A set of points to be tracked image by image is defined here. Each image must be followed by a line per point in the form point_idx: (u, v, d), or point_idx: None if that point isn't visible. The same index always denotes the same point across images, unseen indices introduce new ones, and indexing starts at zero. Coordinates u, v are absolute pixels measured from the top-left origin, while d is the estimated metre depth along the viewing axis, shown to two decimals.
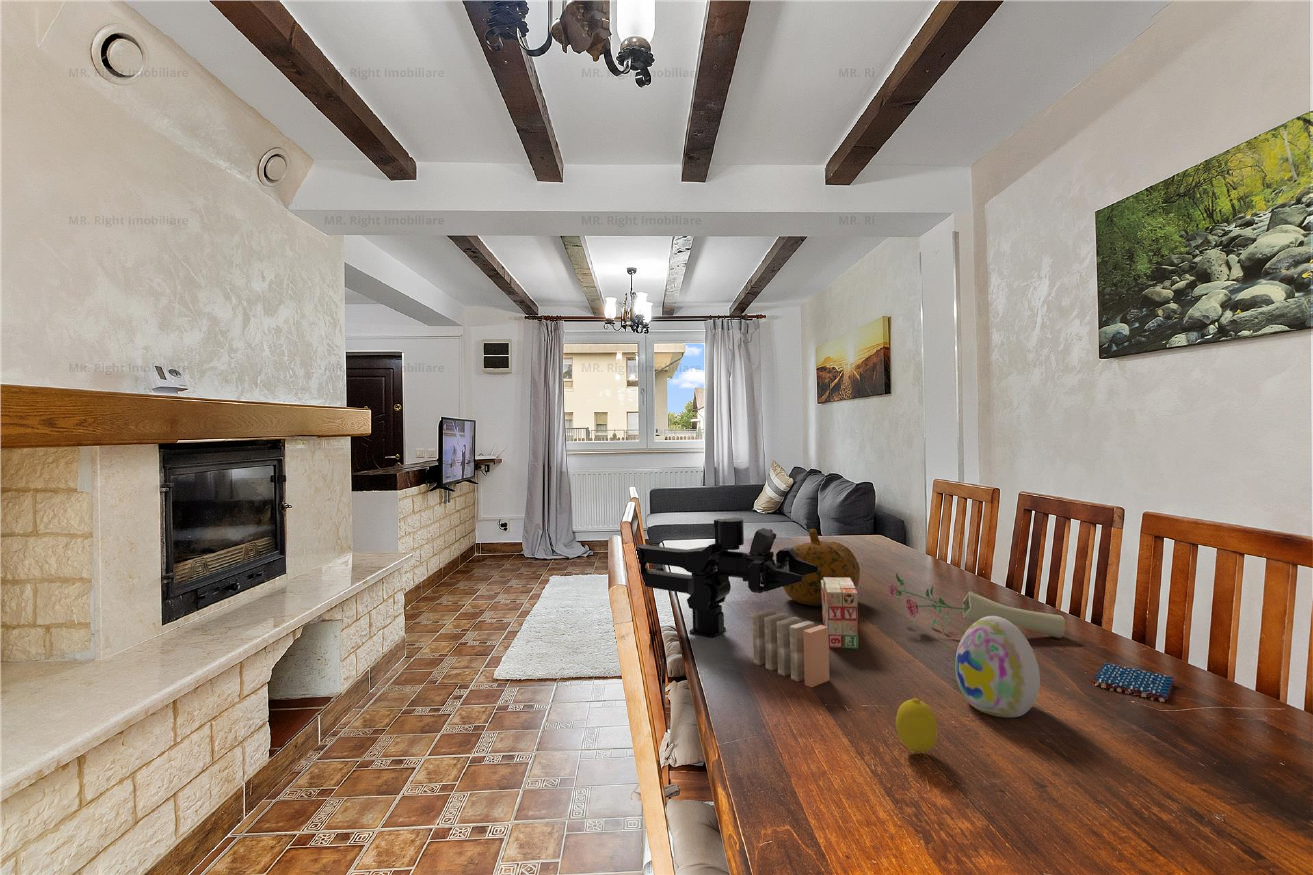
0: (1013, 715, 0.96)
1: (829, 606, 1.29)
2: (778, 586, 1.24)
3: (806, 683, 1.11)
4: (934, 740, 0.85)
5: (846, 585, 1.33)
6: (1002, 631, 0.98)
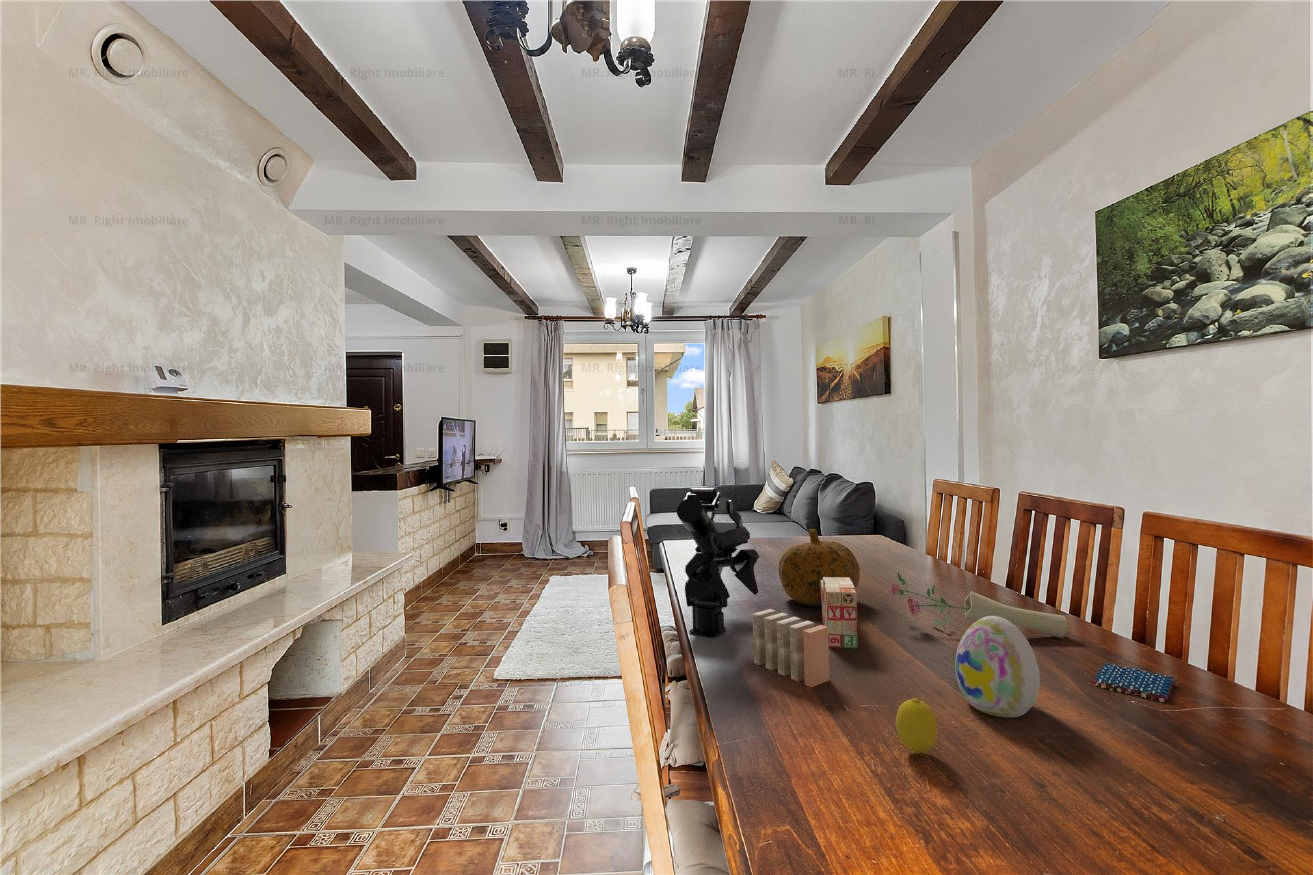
0: (1013, 715, 0.96)
1: (828, 606, 1.29)
2: (707, 585, 1.27)
3: (806, 683, 1.11)
4: (934, 740, 0.85)
5: (845, 585, 1.33)
6: (1002, 630, 0.98)
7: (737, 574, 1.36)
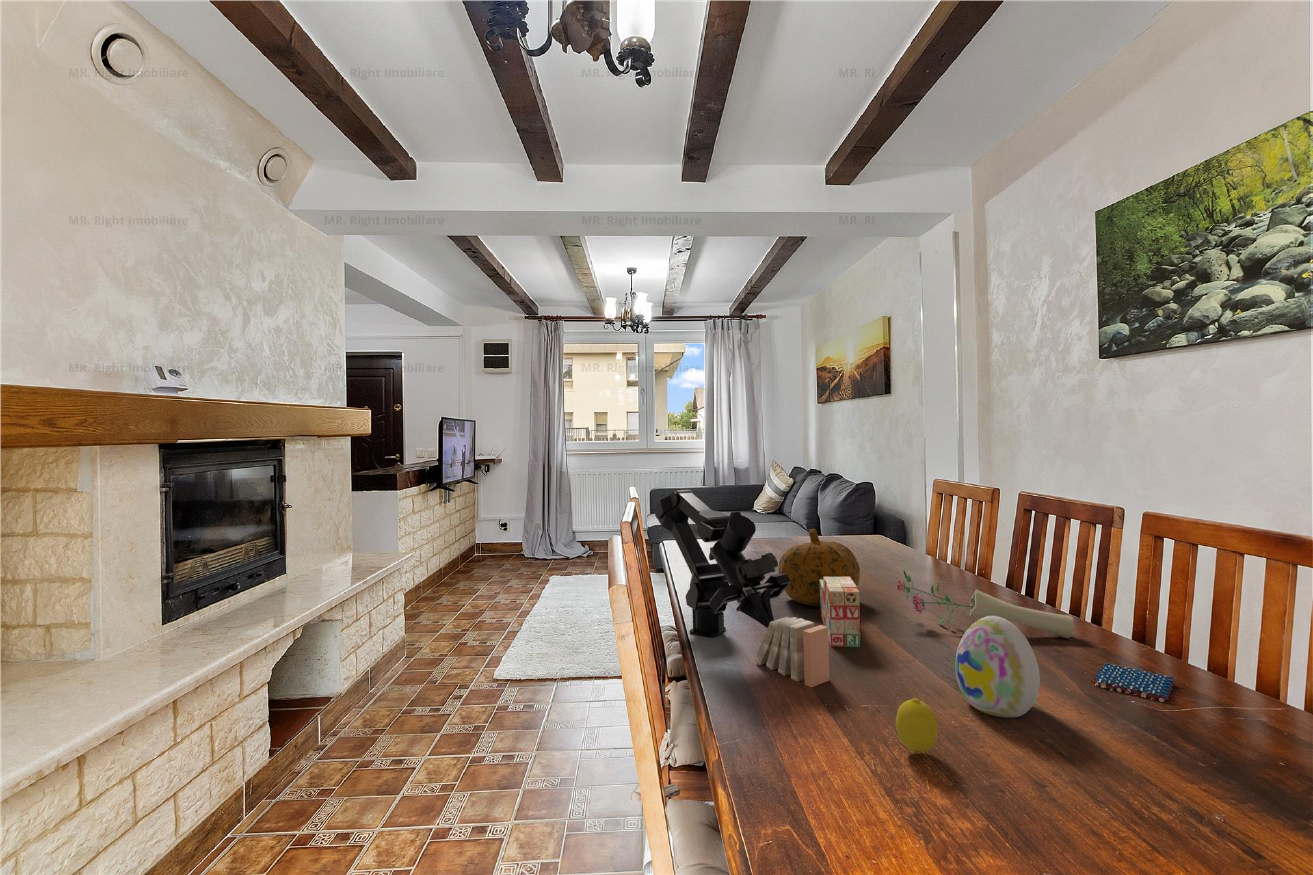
0: (1013, 715, 0.96)
1: (831, 605, 1.30)
2: (750, 615, 1.23)
3: (806, 683, 1.11)
4: (934, 740, 0.85)
5: (847, 584, 1.34)
6: (1002, 631, 0.98)
7: None
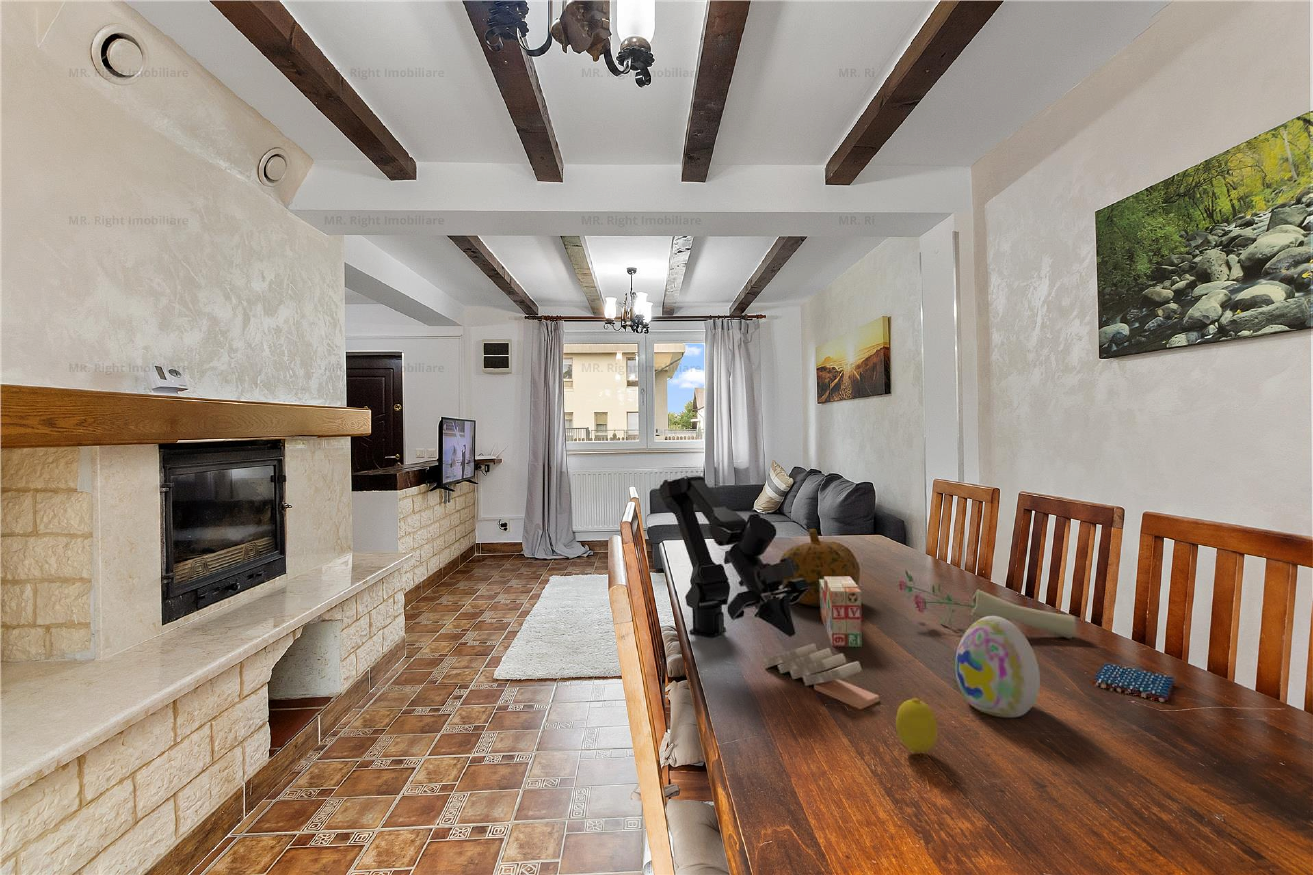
0: (1013, 715, 0.96)
1: (833, 605, 1.30)
2: (769, 622, 1.19)
3: (815, 686, 1.09)
4: (934, 740, 0.85)
5: (848, 584, 1.34)
6: (1002, 631, 0.98)
7: None
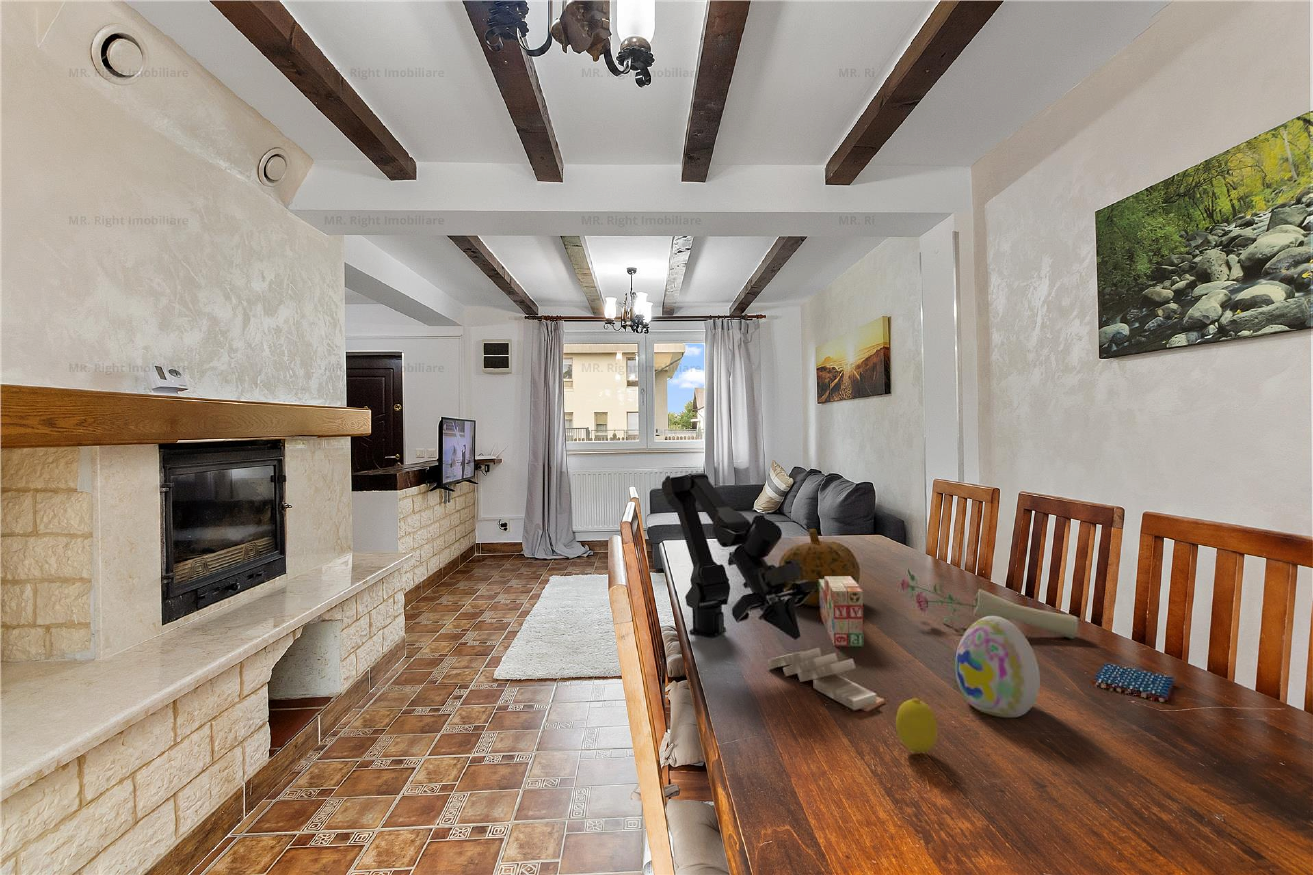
0: (1013, 715, 0.96)
1: (835, 605, 1.30)
2: (773, 624, 1.18)
3: (819, 691, 1.08)
4: (934, 740, 0.85)
5: (849, 584, 1.34)
6: (1002, 630, 0.98)
7: None
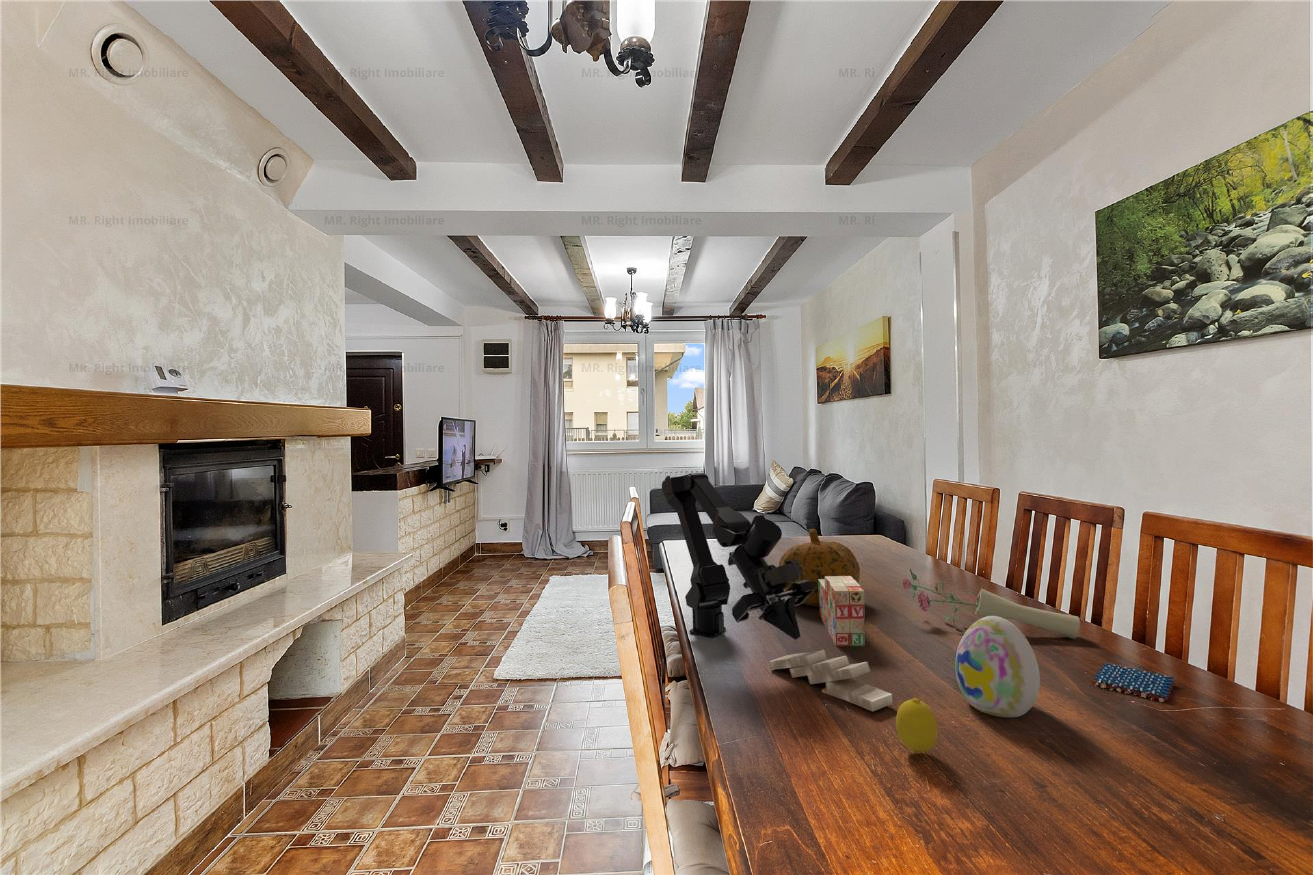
0: (1013, 715, 0.96)
1: (836, 605, 1.30)
2: (773, 624, 1.18)
3: None
4: (934, 740, 0.85)
5: (850, 583, 1.34)
6: (1002, 631, 0.98)
7: None
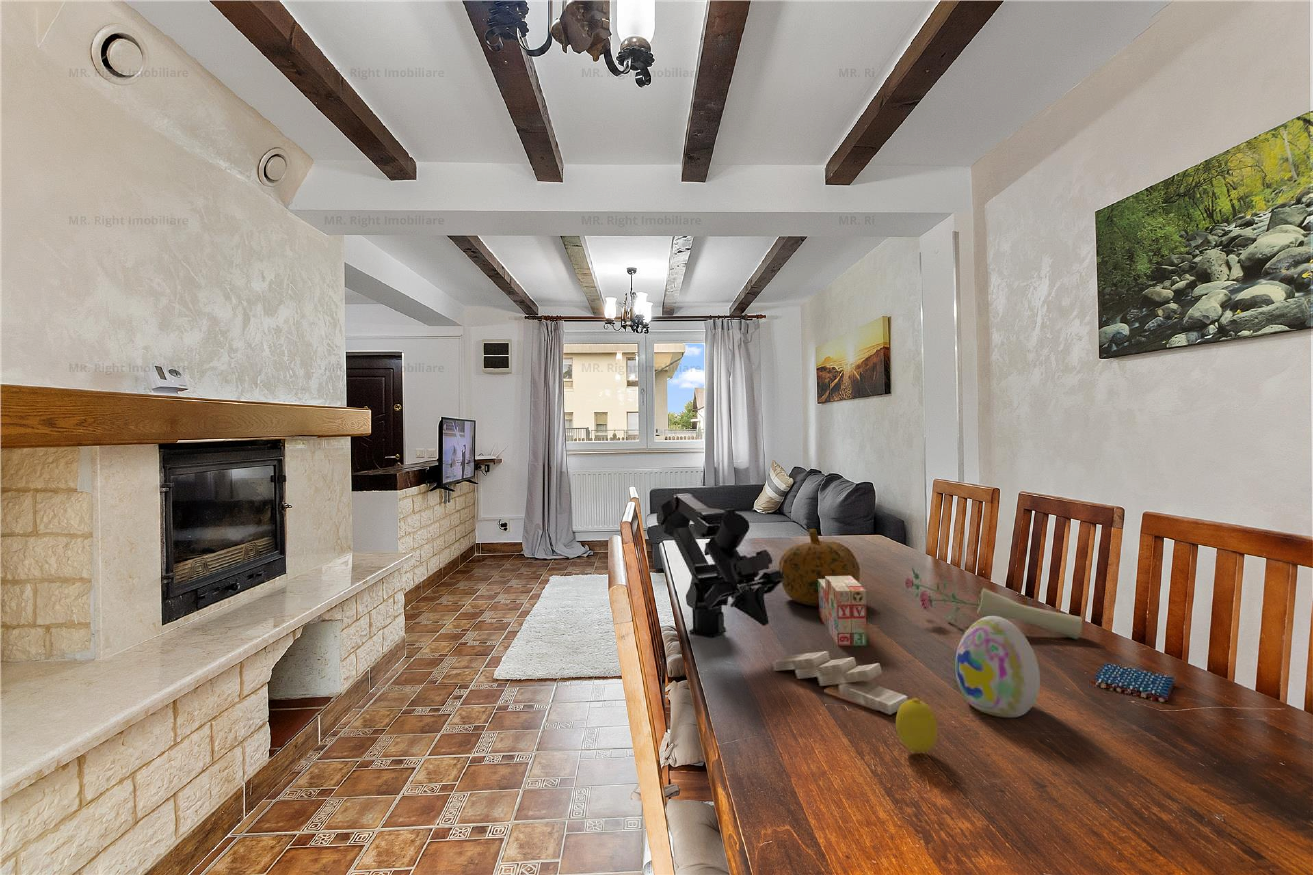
0: (1013, 715, 0.96)
1: (838, 605, 1.30)
2: (744, 611, 1.25)
3: (825, 692, 1.08)
4: (934, 740, 0.85)
5: (852, 583, 1.34)
6: (1002, 631, 0.98)
7: None
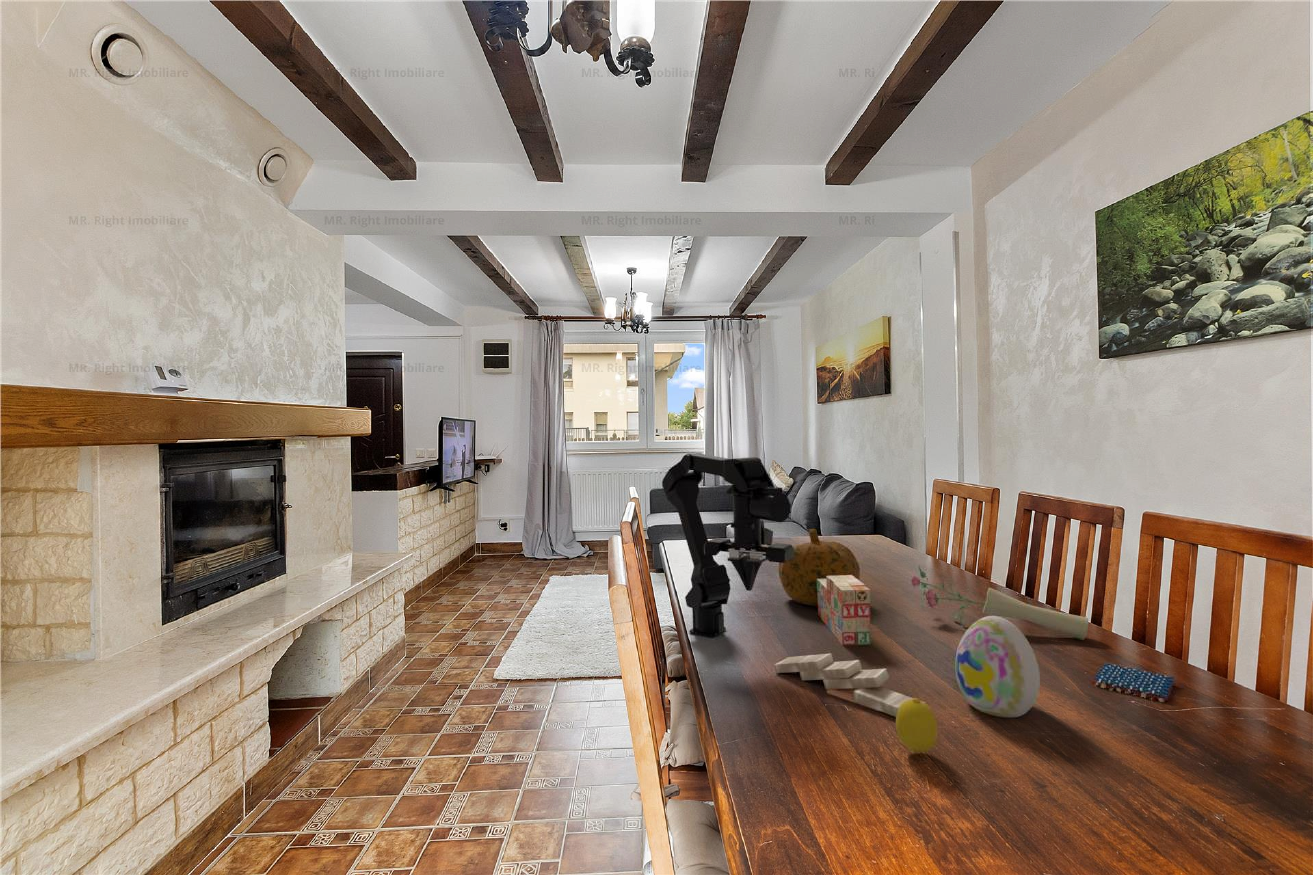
0: (1013, 715, 0.96)
1: (843, 604, 1.30)
2: (752, 571, 1.26)
3: None
4: (934, 740, 0.85)
5: (854, 582, 1.35)
6: (1002, 630, 0.98)
7: (740, 561, 1.27)
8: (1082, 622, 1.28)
